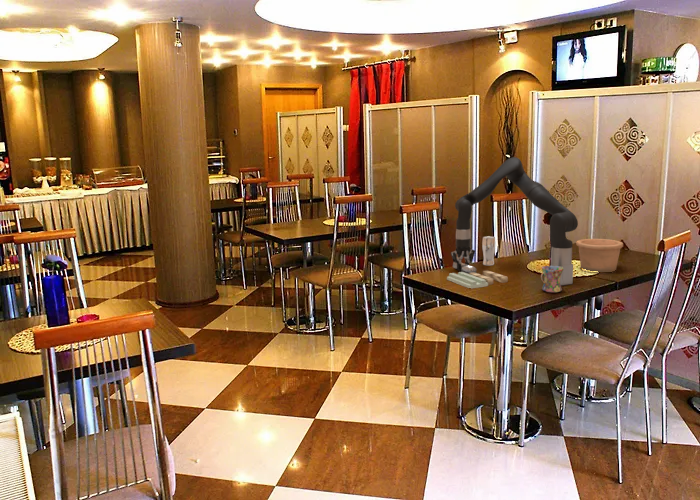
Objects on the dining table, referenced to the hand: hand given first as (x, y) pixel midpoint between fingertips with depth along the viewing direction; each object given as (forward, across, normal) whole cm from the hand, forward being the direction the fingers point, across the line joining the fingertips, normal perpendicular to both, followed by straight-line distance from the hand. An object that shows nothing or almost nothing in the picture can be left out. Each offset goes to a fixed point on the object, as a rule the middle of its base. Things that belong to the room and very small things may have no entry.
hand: (462, 269), depth 307 cm
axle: (-1, 0, +1) cm, 2 cm away
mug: (+1, -11, +53) cm, 54 cm away
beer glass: (+1, -21, -7) cm, 22 cm away
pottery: (+1, -61, +31) cm, 68 cm away
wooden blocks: (+1, 0, +22) cm, 22 cm away
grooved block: (+1, +12, +22) cm, 25 cm away
